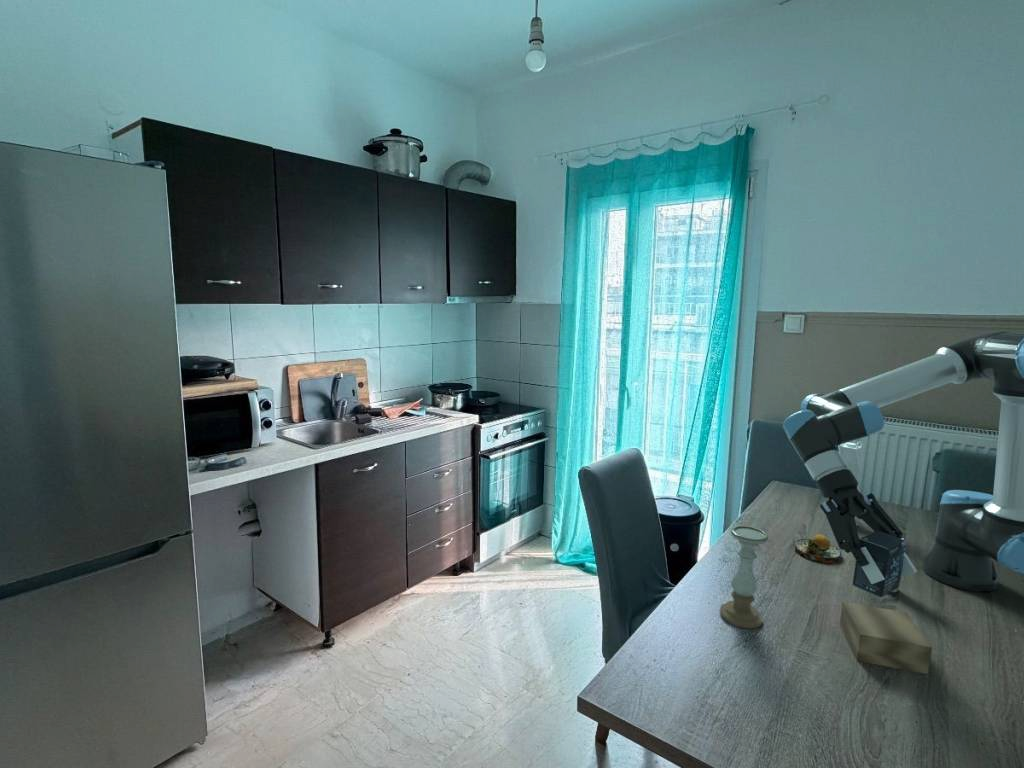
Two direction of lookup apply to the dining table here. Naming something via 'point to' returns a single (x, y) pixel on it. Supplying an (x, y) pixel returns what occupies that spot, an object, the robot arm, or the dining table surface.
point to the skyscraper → (851, 459)
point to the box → (881, 563)
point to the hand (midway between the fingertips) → (894, 577)
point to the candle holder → (744, 580)
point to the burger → (818, 549)
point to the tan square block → (885, 637)
